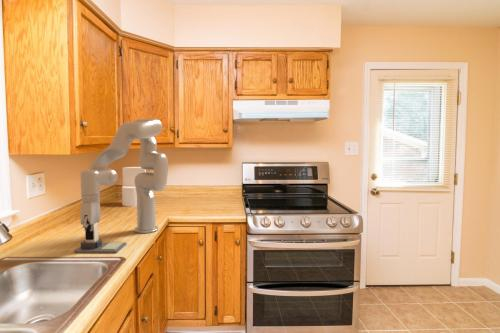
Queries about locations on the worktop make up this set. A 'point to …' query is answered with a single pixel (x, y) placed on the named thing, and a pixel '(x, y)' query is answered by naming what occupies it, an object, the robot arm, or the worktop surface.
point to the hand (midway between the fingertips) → (92, 237)
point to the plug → (95, 233)
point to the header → (100, 247)
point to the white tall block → (130, 185)
